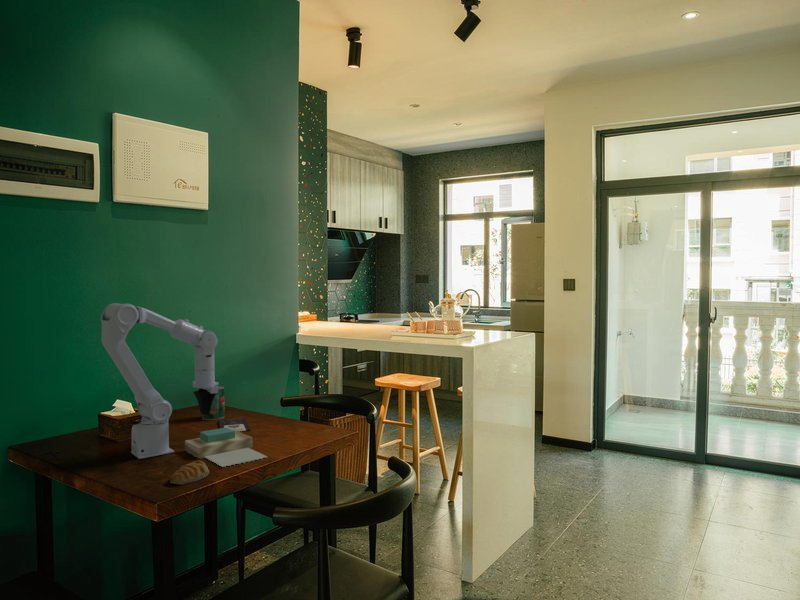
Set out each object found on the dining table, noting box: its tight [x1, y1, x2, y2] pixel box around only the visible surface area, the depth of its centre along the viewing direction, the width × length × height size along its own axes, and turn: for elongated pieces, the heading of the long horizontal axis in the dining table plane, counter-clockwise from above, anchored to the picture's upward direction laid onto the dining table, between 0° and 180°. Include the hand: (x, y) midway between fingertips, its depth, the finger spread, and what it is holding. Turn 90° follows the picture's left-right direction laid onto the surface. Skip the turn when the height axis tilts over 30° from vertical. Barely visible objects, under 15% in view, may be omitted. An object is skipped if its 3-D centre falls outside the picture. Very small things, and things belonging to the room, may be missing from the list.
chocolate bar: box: [217, 417, 251, 433], centre depth 191 cm, size 9×1×18 cm
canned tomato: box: [201, 385, 226, 421], centre depth 203 cm, size 8×8×11 cm
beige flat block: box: [184, 431, 254, 460], centre depth 163 cm, size 16×10×3 cm, turn 131°
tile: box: [199, 427, 235, 443], centre depth 164 cm, size 8×6×2 cm
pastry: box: [169, 459, 210, 485], centre depth 138 cm, size 9×7×4 cm
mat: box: [203, 448, 269, 468], centre depth 155 cm, size 13×12×1 cm
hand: (205, 414), depth 171 cm, fingers closed
